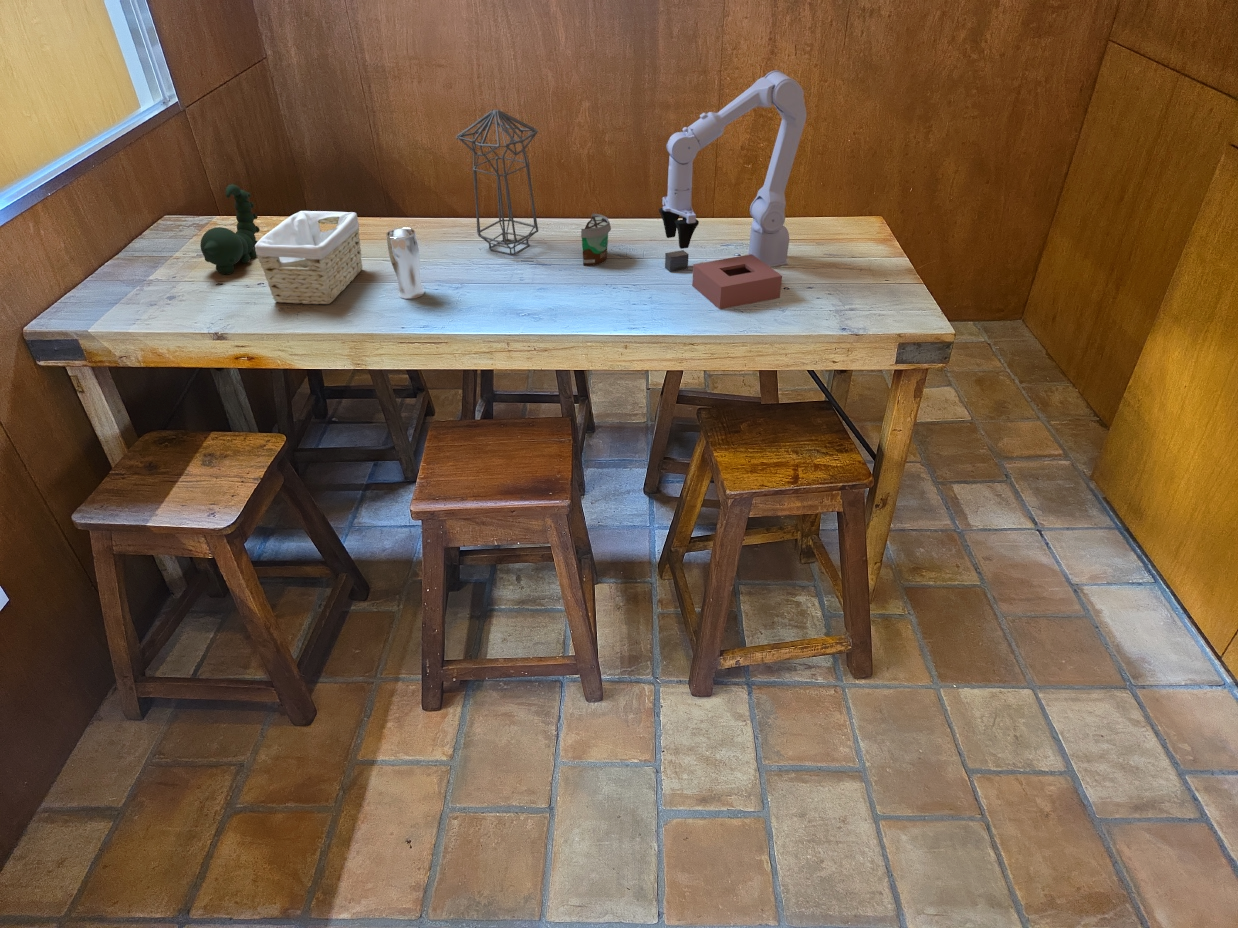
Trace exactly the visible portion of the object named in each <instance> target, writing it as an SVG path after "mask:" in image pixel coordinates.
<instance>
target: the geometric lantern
mask: <svg viewBox="0 0 1238 928" xmlns="http://www.w3.org/2000/svg"><path fill="white" fill-rule="evenodd" d="M492 124H493V125H494V124H495V132H496V141H497V142H496V143H497V144H490V143H488V142H487V141H486V140H487V138H488V136H489V131H490V130H491V127H492ZM516 124H517V125H516ZM478 125H479V126H478ZM518 125H520V126H522V128H521V127H519V126H518ZM476 126H478V127H476ZM475 127H476V129H475V130H474V131H473V132H469V131H471V130H472V129H474V128H475ZM523 127H524V128H523ZM499 128H500V130H501V134H502V137H503V138H502V139H503V142H504V143H503V144H504V145H501V141H500V133H499ZM509 130H512V134H511V133H510V131H509ZM516 130H518V131H519V132H520V134H519V133H518V132H517V131H516ZM467 132H468V133H467ZM484 132H485V133H484ZM524 132H530V133H529V134H527V135H526V136H525V137H524V138H523V135H524V134H523V133H524ZM483 133H484V135H483ZM504 133H505V134H506V136H508V138H509V141H508V143H506V138H505V134H504ZM538 133H539V131H538V129H537V128H536V127H533V126H531V125H530V124H528V123H525V122H524V121H522V120H520V119H517V118H515V117H514V116H512V115H509V114H507V113H506V112H504V111H502V110H500V109H491V110H490V111H489V112H487V113H486V114H485V115H483V116H482V117H481V118H479V119H478V120H476V121H475V122H473V124H471V125H470V126H468V127H467V128H466V129H464V130H463V131H461V132H460V133H459V134H457V135H455V139H456V140H459V141H460V142H461V143H463V145H464V146H465V147H467V148H468V149H469V150H470V151H471V152H472V154H473V158H472V159H473V162H472V163H473V167H472V173H473V174H472V175H473V186H474V197H475V198H474V199H475V212H476V215H475V216H476V234H477V236H478V237H479V238H481V240H483V241H485V242H486V243H488V250H489V251H491V252H495V253H500V254H505V255H509V256H514V255H516V254H518V253H520V252H522V251H523V250H525V249H527V248H528V247H530V242H529V239H530V238H532V236H534V235H535V234H536V233H539V226H538V225H539V224H538V220H537V214H536V208H535V200H534V196H533V188H532V187H533V186H532V178H531V168H530V164H531V163H530V161H529V158H528V155H527V152H526V148H527V147H528V146H529V145H530V143H532V140H533V139H534V138H535V137H536V136H537V134H538ZM475 135H476V136H475ZM515 135H516V136H517V138H518V139H516V138H515ZM467 136H472V139H470V138H467ZM479 137H480V141H478V142H477V140H478V139H479ZM527 140H528V141H527ZM466 141H467V142H469V143H471V146H470V145H469V144H468V143H467V142H466ZM525 141H527V142H526V144H525V145H524V142H525ZM516 144H521V147H522V148H521V149H520V150H519V151H517V147H516ZM511 145H513V148H514V150H513V149H512V148H511V147H510V146H511ZM476 146H477V147H479V148H480V151H481V153H480V152H479V153H478V152H477V150H476ZM484 147H485V148H486V147H487V148H489V150H488V151H486V152H485V153H484V150H483V148H484ZM499 148H505V149H504V152H503V153H502V156H499V155H498V154H497V153H496V150H498V149H499ZM507 151H509V152H510V153H511V154H513V155H514V156H513V158H511V157H505V155H506V154H507ZM491 153H493V154H495V156H494V157H491V158H488V157H487V156H488V155H490V154H491ZM521 153H522V155H523V159H524V160H520V159H515V158H516V156H517V155H520V154H521ZM476 156H477V158H476ZM480 157H484V158H485V160H484V161H482V162H479V158H480ZM494 159H495V166H494V165H493V163H492V162H491V161H492V160H494ZM499 160H502V168H503V174H501V173H500V172H499ZM505 160H509V161H511V162H510V164H509V166H508V169H506V162H505ZM487 162H488V164H489V165H490V167H491V168H492V169H493V171H494V173H493V172H489V171H485V170H481V169H478V166H481V165H483V164H485V163H487ZM514 162H519V163H524V164H525V165H524V166H523V165H522V167H520V168H517V169H514V170H512V171H510V170H511V167H512V165H513V163H514ZM522 169H526V175H527V176H526V177H527V181H528V187H529V193H530V200H531V201H530V202H531V210H532V218H533V224H530V223H526V222H522V221H518V220H514V215H513V208H512V201H511V194H510V188H509V187H510V186H509V180H508V176H509V175H512V174H514V173H516V172H518V171H520V170H522ZM477 172H479V173H484V174H488V175H492V176H496V186H497V187H496V188H497V205H498V206H497V207H498V220H497V221H495V222H493V223H491V224H489V225H487V226H486V227H484V228H482V229H481V225H480V224H481V223H480V222H481V221H480V212H479V199H478V198H479V197H478V175H477ZM502 177H504V185H505V187H504V188H505V194H506V203H507V204H506V205H507V214H508V219H507V218H506V219H505V216H504V215H505V213H504V204H503V194H502V186H501V185H502V184H501V178H502ZM506 222H507V225H505V223H506ZM510 223H511V226H512V232H513V233H512V232H509V226H510ZM497 224H499V225H500V228H501V231H502V232H501V233H499V234H498V235H497V236H495V237H494V238H491V237H487V236H486V235H485V236H484V235H483V234H481V233H482V232H484V231H486V230H488V229H490V228H491V227H493V226H496V225H497ZM515 224H520V225H523V226H527V227H531V230H530V231H529V232H528V233H527V235H524V234H523V235H522V234H517V233H516V229H515ZM534 229H535V230H534ZM533 230H534V231H533ZM509 235H511V236H513V238H514V239H509ZM500 236H501V237H502V240H497V239H498V238H499V237H500ZM517 237H521V238H519V239H517ZM507 241H508V242H507ZM493 242H494V243H493ZM521 244H524V245H525V246H523V247H522V248H520V249H519V250H517V251H516V248H517V247H518V246H519V245H521ZM510 245H513V246H512V247H511V246H510ZM495 246H497V247H500V248H505V249H508V250H509V252H505V251H501V250H496V249H492V248H494V247H495ZM512 250H513V253H512Z"/></svg>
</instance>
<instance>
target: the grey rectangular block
mask: <svg viewBox="0 0 1238 928" xmlns="http://www.w3.org/2000/svg"><path fill="white" fill-rule="evenodd" d="M689 256H690V255H689V253H688V252H687V251H685V250H684V249H683V250H682V249H681V250H675V251H670V252H665V255H664V257H665V258H664V259H665V260H664V269H665V270H667V271H668V272H669V273H673V272H679V271H684V270H685V271H687V270H688V269H689Z"/></svg>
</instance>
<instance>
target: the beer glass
mask: <svg viewBox="0 0 1238 928" xmlns="http://www.w3.org/2000/svg"><path fill="white" fill-rule="evenodd" d="M385 235H386V236H385V237H386V246H387V252H388V255H389V256H388V257H389V260H390V263H391V266H392V269H393V272H394V274H395V277H396V280H397V284H398V285H397V290H398V291H397V295H398V297H400V298H401V299H405V300H413V299H417V298H420V297H422V296H423V295H424V294H425V290H424V287H423V283H422V281H421V254H420V247H419V242H418V238H417V234H416V230H415V229H413V228H410V227H396V228H392V229H390V230H387V232H386V233H385Z"/></svg>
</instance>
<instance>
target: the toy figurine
mask: <svg viewBox="0 0 1238 928" xmlns="http://www.w3.org/2000/svg"><path fill="white" fill-rule="evenodd" d="M231 195H233V199H234V200H235V202H234V209H235V210H236V214H235V218H236V220H237V223H236V231H235V232H234V231H233V230H231V229H229V228H226V227H220V226H219V227H212V228H210V229H208V230H207V231H205V233H204V234H202V237H201V239H200V244H199V245H200V250H201V251H200V252H201V253H202V255H203V257H204V260H205V262H207V263H211V264H212V265H215V270H216V271H217V272H218V273H219V274H221V275H230V274H232V273H234V271H235V266H234V265H235V264H237V263H238V262H239V261H240V262H242V263H243V264H248V263H249V262H250V261H251V258H252V259H254V257H255V258H256V257H258V256H257V255H256V251H255V245H256V243H257V242H258V241H259V240H257V239H256V235H255V234H256V233H259V232H260V227H259V226H257V225H256V224H255V222H254V221H255V220H257V219H258V215H257V213H253V212H252V209H253V208H254V207H255V204H254V203H253V202H252V201H249V198H251V193H250V192H247V191H246V190H244V189H241V188H240V186H238V185H236V184H232V183H231V184H228V185H227V186H226V188H225V196H226V198H227V199H230V198H231Z"/></svg>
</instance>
